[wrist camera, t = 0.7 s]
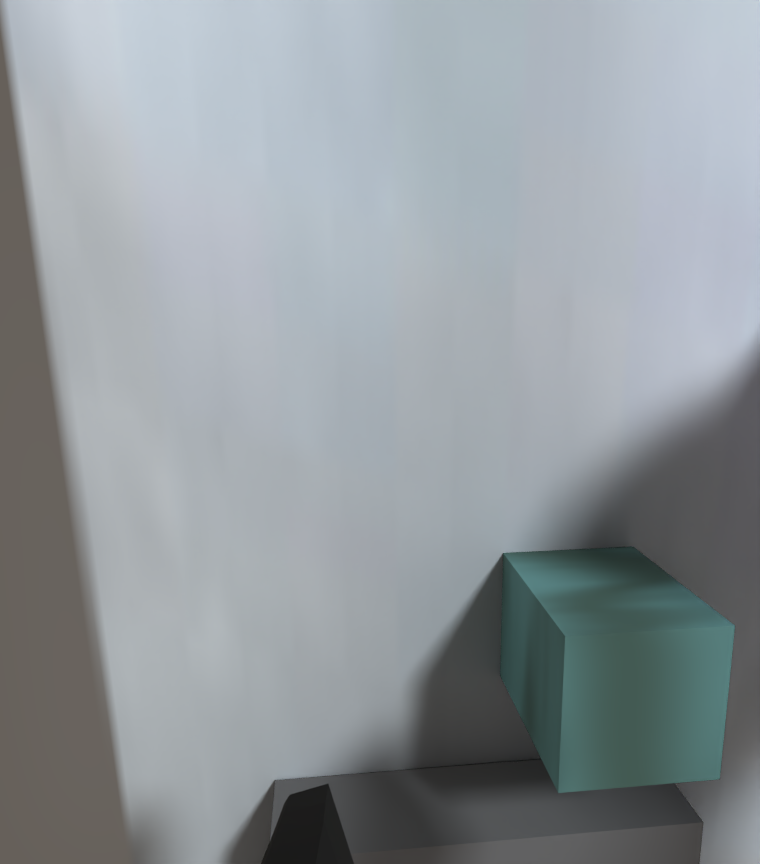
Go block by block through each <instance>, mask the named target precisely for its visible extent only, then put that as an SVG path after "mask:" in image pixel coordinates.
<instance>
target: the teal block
mask: <svg viewBox="0 0 760 864" xmlns="http://www.w3.org/2000/svg"><path fill="white" fill-rule="evenodd" d="M734 631H735V625H733V624H732V623H731V622H730V621H728V620H727V619H726V618H724V617H723V616H722V615H721V614H719V613H718V612H717V611H715V610H714V609H713V608H711V607H710V606H709V605H708V604H706V603H705V602H704V601H702V600H701V599H700V598H699V597H697V596H696V595H695V594H693V593H692V592H691V591H690V590H688V589H687V588H686V587H684V586H683V585H682V584H680V583H679V582H678V581H677V580H675V579H674V578H673V577H671V576H670V575H669V574H668V573H666V572H665V571H664V570H662V569H661V568H660V567H659V566H657V565H656V564H655V563H653V562H652V561H651V560H649V559H648V558H647V557H646V556H644V555H643V554H642V553H640V552H639V551H638V550H637V549H635V548H634V547H615V548H595V549H575V550H555V551H535V552H515V553H503V579H502V621H501V663H500V676H501V678H502V680H503V682H504V684H505V686H506V688H507V690H508V692H509V694H510V697H511V699H512V701H513V703H514V705H515V707H516V709H517V711H518V713H519V715H520V717H521V719H522V721H523V723H524V725H525V727H526V729H527V731H528V733H529V735H530V737H531V739H532V741H533V743H534V745H535V747H536V749H537V751H538V753H539V755H540V757H541V759H542V761H543V763H544V765H545V767H546V769H547V771H548V773H549V775H550V778H551V780H552V782H553V784H554V786H555V788H556V790H557V792H558V793H565V792H577V791H588V790H600V789H612V788H624V787H635V786H647V785H659V784H670V783H682V782H694V781H706V780H717V779H720V772H721V762H722V752H723V742H724V731H725V721H726V711H727V701H728V691H729V681H730V671H731V661H732V651H733V641H734Z"/></svg>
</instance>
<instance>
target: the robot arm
mask: <svg viewBox="0 0 760 864" xmlns="http://www.w3.org/2000/svg"><path fill="white" fill-rule="evenodd" d="M261 864H354V862H353V859H352V856H351V853H350V849H349V846H348V843H347V840H346V837H345V834H344V831H343V828H342V825H341V821H340V818H339V815H338V812H337V809H336V806H335V803H334V800H333V797H332V793H331V790H330V787H329V784H325V785H321V786H318V787H314V788H311V789H307V790H304V791H301V792H297V793H294V794H290V795H289V796H288V798H287V800H286V801H285V803H284V805H283V808H282V811H281V813H280V816H279V819H278V822H277V824H276V827H275V830H274V832H273V835H272V837H271V840H270V843H269V845H268V848H267V850H266V853H265V855H264V858H263V860H262V863H261Z"/></svg>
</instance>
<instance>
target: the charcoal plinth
mask: <svg viewBox="0 0 760 864" xmlns="http://www.w3.org/2000/svg"><path fill="white" fill-rule="evenodd" d="M325 784H329V787H330V790H331V793H332V797H333V800H334V803H335V806H336V809H337V812H338V815H339V818H340V821H341V825H342V828H343V831H344V834H345V837H346V840H347V843H348V846H349V849H350V853H351V856H352V859H353V862H354V864H699V862H700V851H701V841H702V830H703V821H702V820H701V819H700V817H699V816H698V815H697V813H696V812H695V811H694V809H693V808H692V807H691V805H690V804H689V802H688V801H687V800H686V798H685V797H684V796H683V794H682V793H681V792H680V790H679V789H678V788H677V786H676V785H675V784H674V783H670V784H659V785H647V786H635V787H624V788H612V789H600V790H588V791H577V792H565V793H558V792H557V790H556V788H555V786H554V784H553V782H552V780H551V778H550V775H549V773H548V771H547V769H546V767H545V765H544V763H543V761H542V759H538V760H525V761H513V762H500V763H487V764H475V765H462V766H449V767H437V768H424V769H411V770H399V771H386V772H373V773H361V774H348V775H335V776H323V777H310V778H297V779H285V780H275V788H274V799H273V811H272V823H271V834H270V840H271V837H272V835H273V832H274V830H275V827H276V824H277V822H278V819H279V816H280V813H281V811H282V808H283V805H284V803H285V801H286V800H287V798H288V796H289V795H290V794H294V793H297V792H301V791H304V790H307V789H311V788H314V787H318V786H321V785H325Z"/></svg>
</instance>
